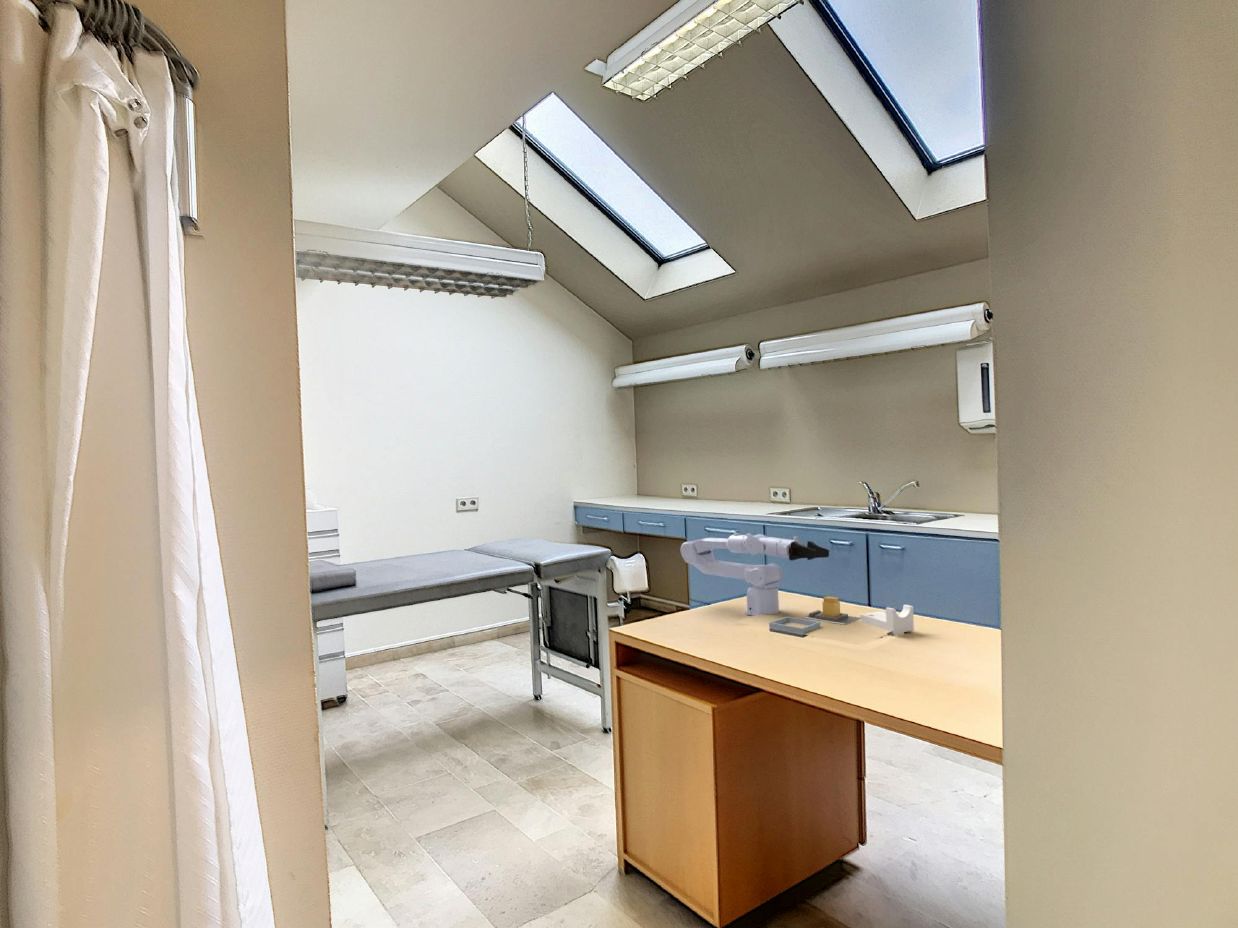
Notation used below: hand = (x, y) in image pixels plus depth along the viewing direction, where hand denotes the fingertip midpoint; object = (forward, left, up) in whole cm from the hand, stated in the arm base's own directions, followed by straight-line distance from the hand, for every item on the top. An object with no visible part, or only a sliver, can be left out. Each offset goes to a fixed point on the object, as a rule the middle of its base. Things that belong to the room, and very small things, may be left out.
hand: (821, 553), depth 207 cm
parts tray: (-3, -11, -21) cm, 24 cm away
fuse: (0, +4, -20) cm, 20 cm away
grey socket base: (0, +4, -21) cm, 21 cm away
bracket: (+16, +6, -21) cm, 27 cm away
